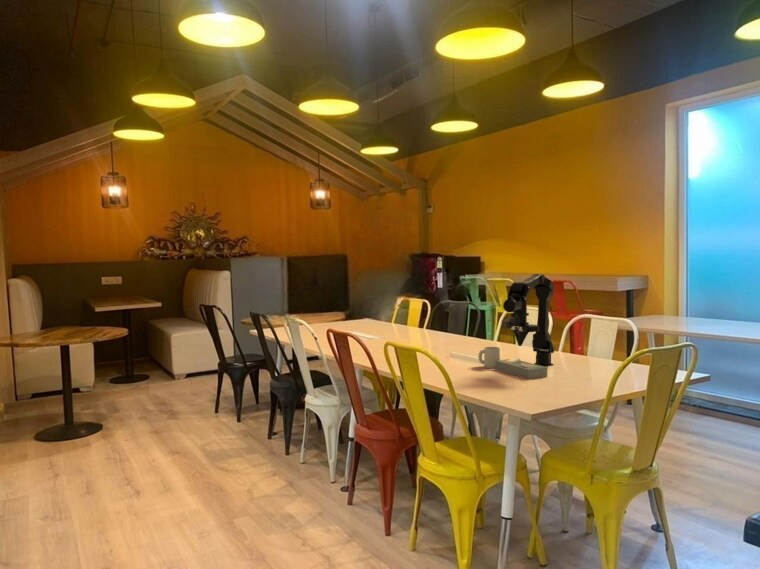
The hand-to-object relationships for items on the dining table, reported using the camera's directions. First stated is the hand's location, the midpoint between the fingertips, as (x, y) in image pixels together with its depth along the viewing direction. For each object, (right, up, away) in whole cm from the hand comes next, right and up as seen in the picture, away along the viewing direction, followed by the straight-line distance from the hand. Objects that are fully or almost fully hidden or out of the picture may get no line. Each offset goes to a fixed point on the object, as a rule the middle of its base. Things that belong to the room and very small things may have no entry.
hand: (519, 345), depth 249 cm
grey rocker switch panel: (+1, -12, +3) cm, 13 cm away
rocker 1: (-2, -8, +8) cm, 11 cm away
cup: (-10, -12, +17) cm, 23 cm away
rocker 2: (+3, -9, -3) cm, 10 cm away
